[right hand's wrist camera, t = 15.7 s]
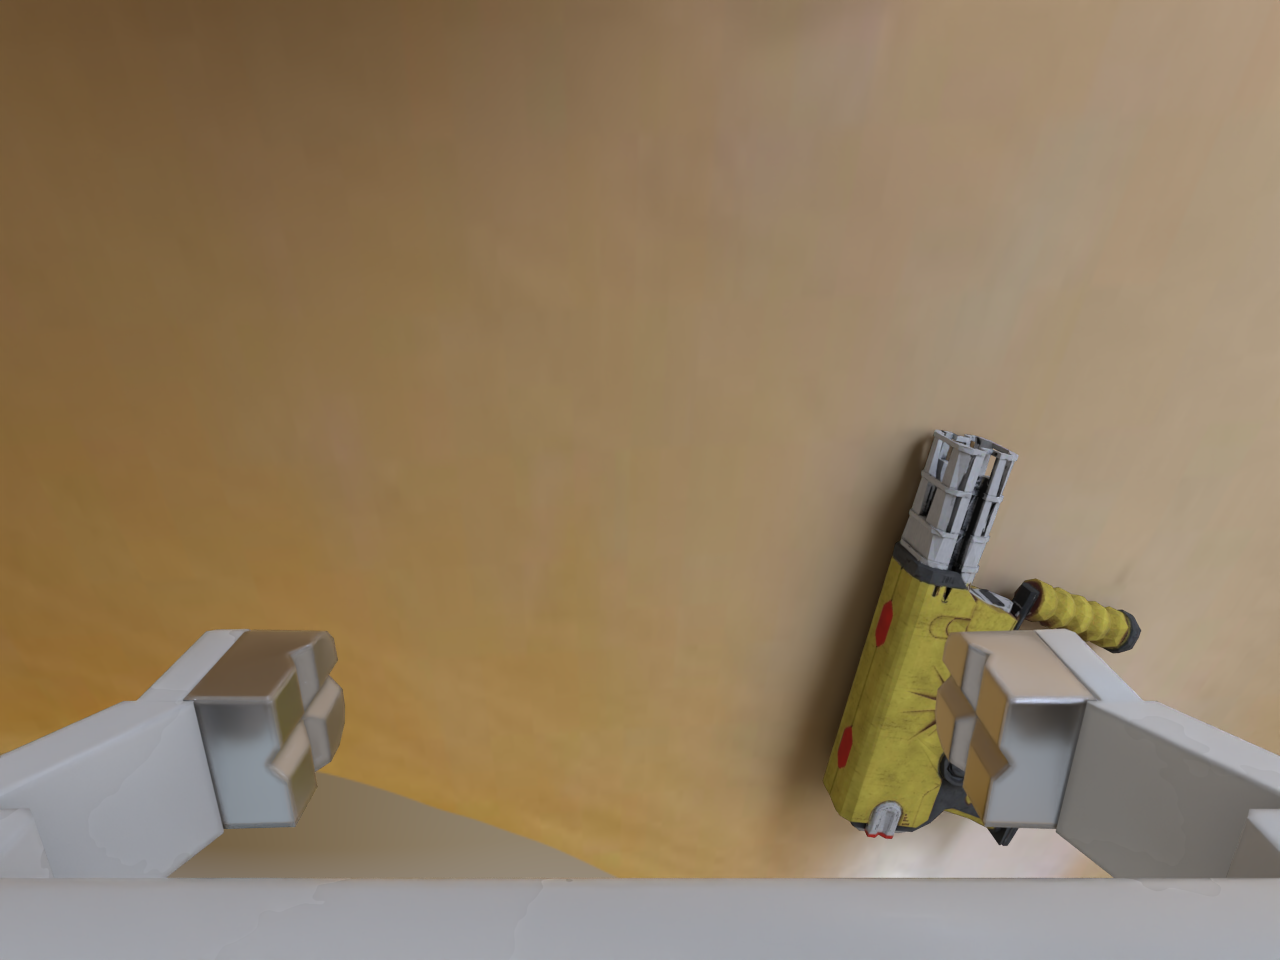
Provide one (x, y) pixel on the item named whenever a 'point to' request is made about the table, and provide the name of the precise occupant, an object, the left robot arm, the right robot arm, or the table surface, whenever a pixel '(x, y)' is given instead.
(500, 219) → the table surface
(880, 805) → the toy gun
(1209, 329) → the table surface
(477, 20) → the table surface
